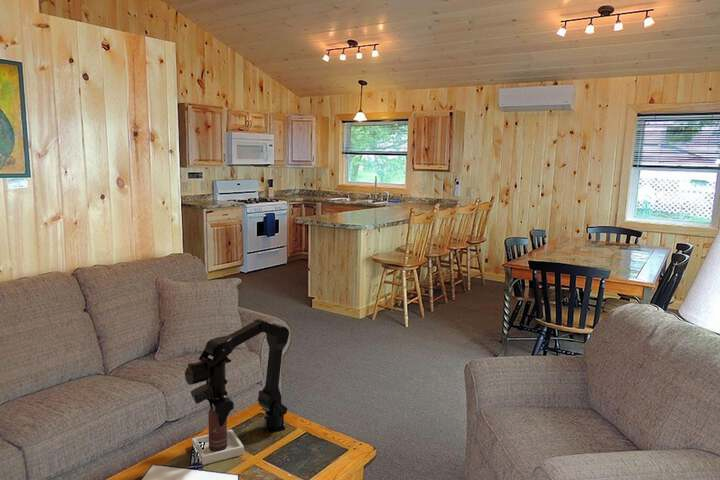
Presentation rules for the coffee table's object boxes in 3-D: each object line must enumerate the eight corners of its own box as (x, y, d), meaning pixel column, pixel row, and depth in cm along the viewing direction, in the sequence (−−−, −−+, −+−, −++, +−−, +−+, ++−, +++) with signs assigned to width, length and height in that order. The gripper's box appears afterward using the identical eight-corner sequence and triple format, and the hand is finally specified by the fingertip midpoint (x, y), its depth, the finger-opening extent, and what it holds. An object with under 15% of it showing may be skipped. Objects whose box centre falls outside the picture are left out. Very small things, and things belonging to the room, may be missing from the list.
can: (230, 443, 184) (229, 405, 182) (223, 453, 178) (222, 413, 176) (213, 442, 185) (212, 404, 183) (206, 451, 178) (205, 412, 177)
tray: (231, 436, 191) (231, 429, 190) (244, 454, 179) (244, 446, 178) (192, 445, 184) (192, 438, 183) (202, 465, 172) (202, 457, 171)
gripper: (186, 371, 182) (187, 414, 184) (199, 391, 166) (200, 437, 168) (218, 366, 187) (218, 408, 189) (234, 384, 171) (234, 430, 173)
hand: (217, 420), depth 180 cm, fingers open, 9 cm apart
